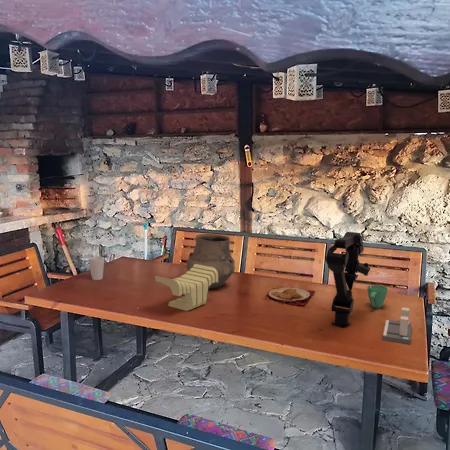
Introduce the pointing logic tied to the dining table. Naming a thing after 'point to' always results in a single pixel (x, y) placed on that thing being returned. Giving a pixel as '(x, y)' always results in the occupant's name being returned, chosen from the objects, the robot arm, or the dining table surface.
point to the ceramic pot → (213, 256)
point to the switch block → (395, 332)
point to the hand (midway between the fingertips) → (350, 290)
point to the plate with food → (290, 295)
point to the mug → (377, 295)
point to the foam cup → (96, 267)
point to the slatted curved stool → (191, 286)
